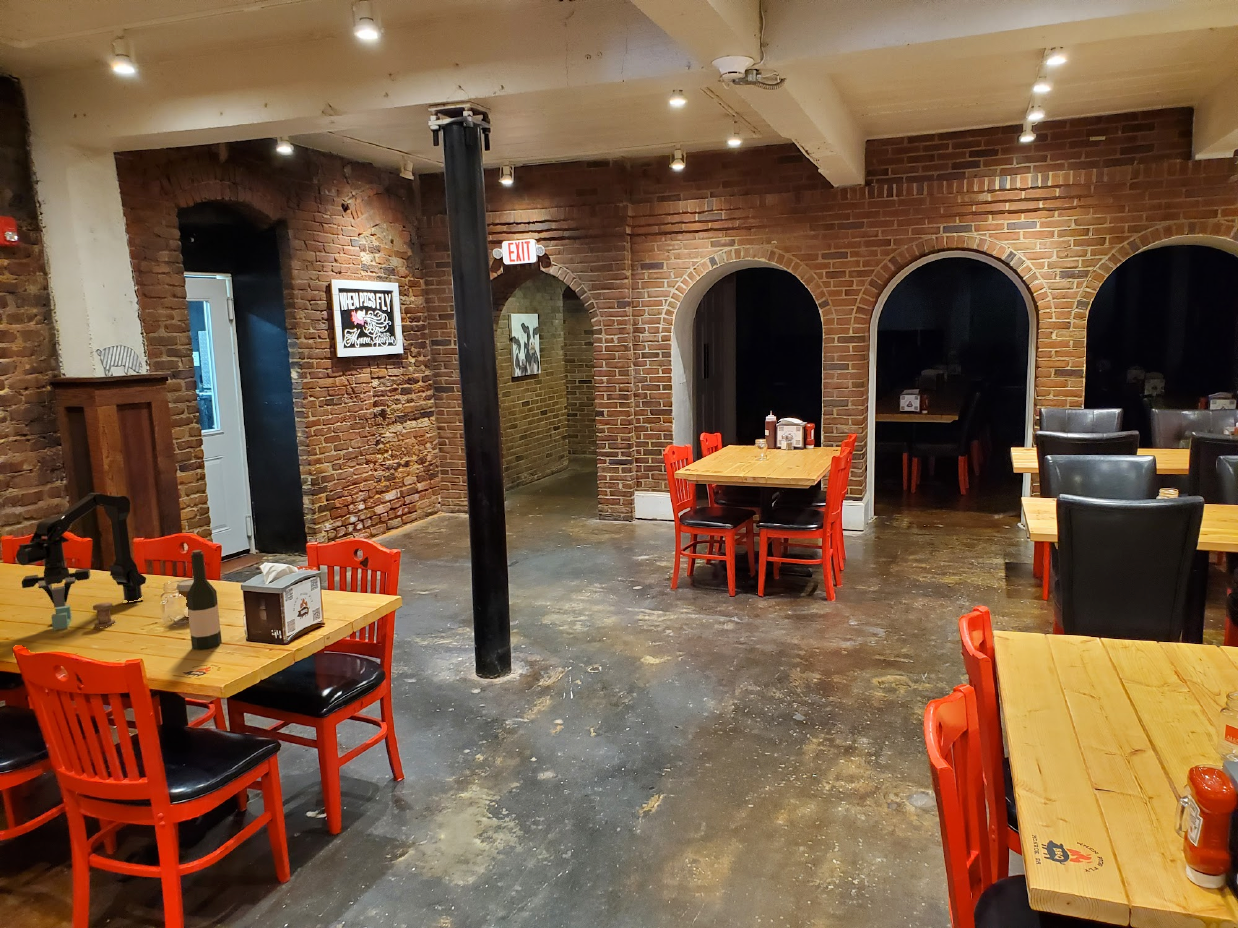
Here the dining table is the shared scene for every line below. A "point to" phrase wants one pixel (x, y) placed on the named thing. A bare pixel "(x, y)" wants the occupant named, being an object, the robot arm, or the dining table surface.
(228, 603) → the dining table surface
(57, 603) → the grey upright block
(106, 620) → the spool
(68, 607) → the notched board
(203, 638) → the wine bottle
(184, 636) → the dining table surface
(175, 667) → the dining table surface
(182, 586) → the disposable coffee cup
